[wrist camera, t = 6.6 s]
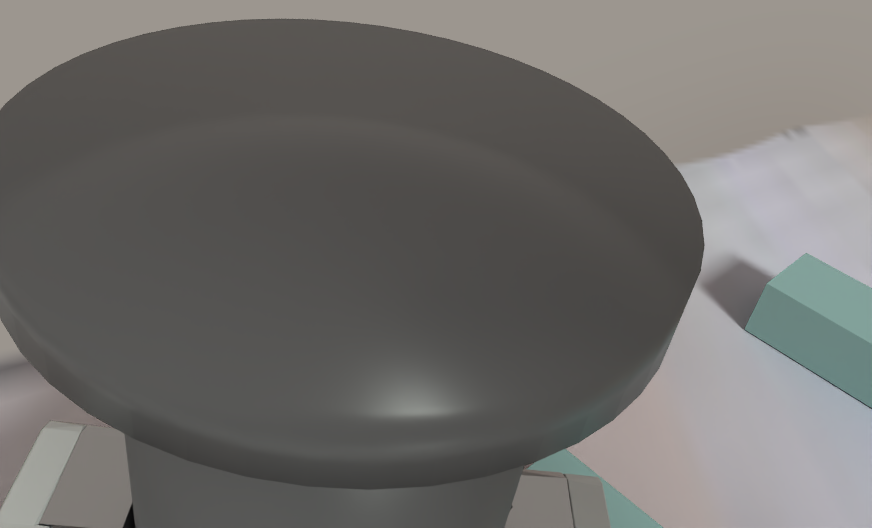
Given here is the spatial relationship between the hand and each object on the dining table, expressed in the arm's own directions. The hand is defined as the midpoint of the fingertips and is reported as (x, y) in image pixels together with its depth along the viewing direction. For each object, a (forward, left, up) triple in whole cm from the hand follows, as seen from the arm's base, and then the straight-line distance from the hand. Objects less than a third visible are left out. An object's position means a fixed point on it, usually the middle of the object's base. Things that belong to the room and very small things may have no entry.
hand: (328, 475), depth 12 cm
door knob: (+1, +1, -7) cm, 7 cm away
